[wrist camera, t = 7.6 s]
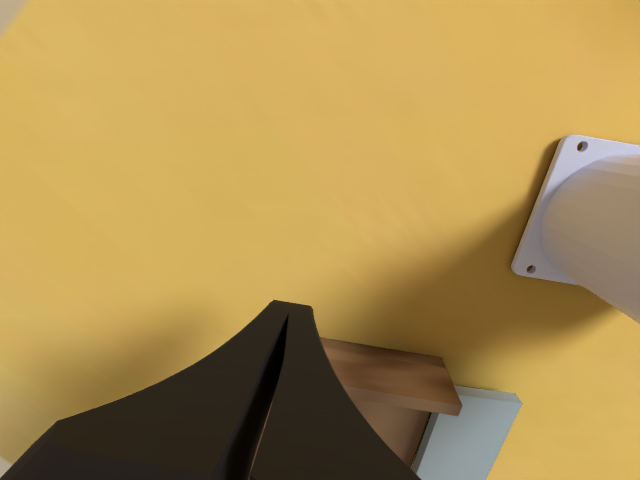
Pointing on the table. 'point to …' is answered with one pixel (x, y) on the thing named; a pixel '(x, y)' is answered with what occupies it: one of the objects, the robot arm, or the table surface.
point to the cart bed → (393, 391)
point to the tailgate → (466, 436)
